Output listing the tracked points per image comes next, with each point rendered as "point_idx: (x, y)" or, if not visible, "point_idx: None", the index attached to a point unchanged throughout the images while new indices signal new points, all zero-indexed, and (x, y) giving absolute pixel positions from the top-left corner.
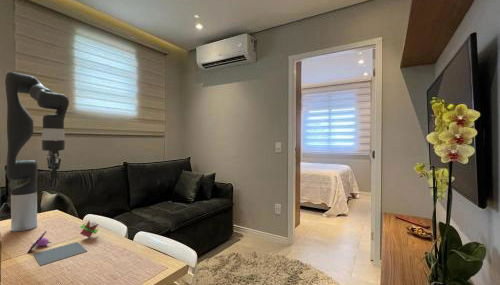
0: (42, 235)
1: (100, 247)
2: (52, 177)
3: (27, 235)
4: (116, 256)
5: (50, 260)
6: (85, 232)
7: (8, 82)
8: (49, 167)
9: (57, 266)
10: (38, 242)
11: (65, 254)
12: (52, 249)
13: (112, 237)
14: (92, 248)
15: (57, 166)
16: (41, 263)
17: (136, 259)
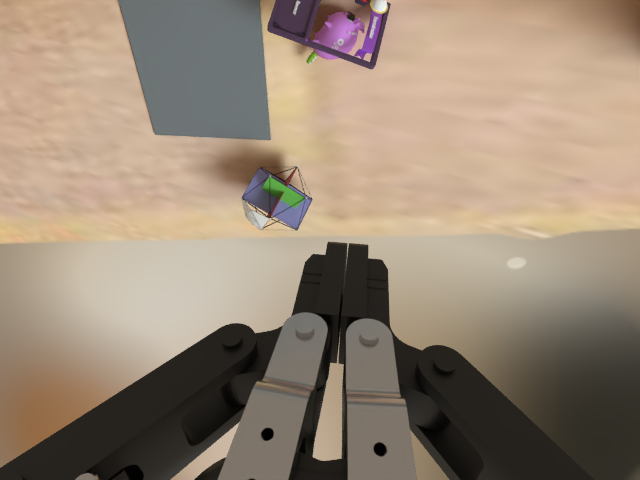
0: (375, 46)
1: (166, 171)
2: (306, 262)
3: (571, 6)
4: (69, 174)
5: (140, 20)
6: (288, 181)
7: None
8: (381, 362)
9: (79, 27)
10: (330, 17)
11: (166, 74)
12: (251, 52)
13: (231, 225)
14: (173, 153)
15: (228, 409)
16: None
17: (24, 197)
